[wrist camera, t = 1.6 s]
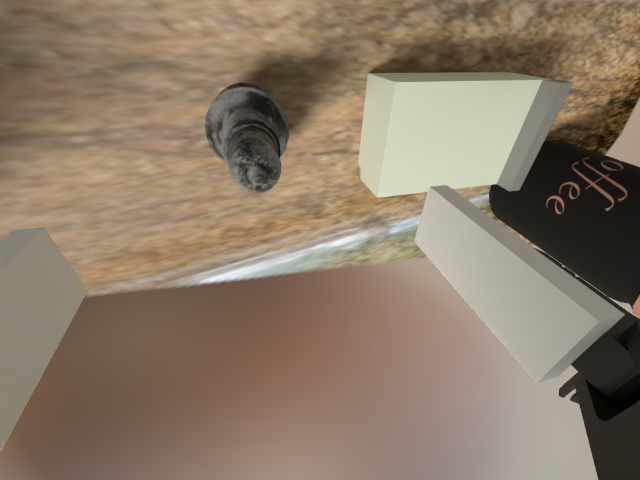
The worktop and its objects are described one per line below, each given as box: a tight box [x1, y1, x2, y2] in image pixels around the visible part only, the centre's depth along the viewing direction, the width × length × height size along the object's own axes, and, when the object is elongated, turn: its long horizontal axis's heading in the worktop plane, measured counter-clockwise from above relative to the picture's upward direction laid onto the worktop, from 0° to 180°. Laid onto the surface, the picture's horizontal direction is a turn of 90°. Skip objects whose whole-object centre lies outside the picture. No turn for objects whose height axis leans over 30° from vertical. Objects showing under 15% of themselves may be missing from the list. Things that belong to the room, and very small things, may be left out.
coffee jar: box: [489, 140, 640, 318], centre depth 28 cm, size 11×11×18 cm
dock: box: [357, 72, 573, 198], centre depth 25 cm, size 14×9×7 cm, turn 89°
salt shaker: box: [205, 83, 289, 193], centre depth 18 cm, size 6×6×12 cm
